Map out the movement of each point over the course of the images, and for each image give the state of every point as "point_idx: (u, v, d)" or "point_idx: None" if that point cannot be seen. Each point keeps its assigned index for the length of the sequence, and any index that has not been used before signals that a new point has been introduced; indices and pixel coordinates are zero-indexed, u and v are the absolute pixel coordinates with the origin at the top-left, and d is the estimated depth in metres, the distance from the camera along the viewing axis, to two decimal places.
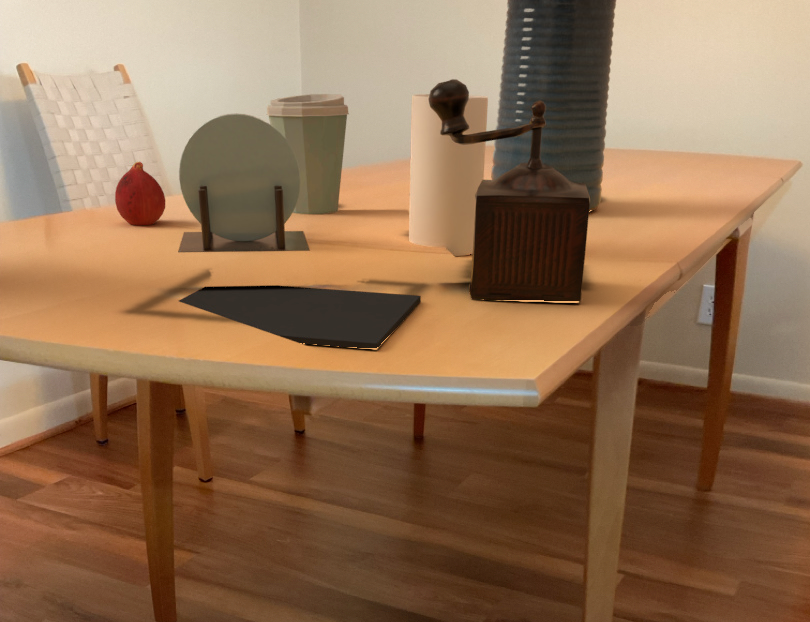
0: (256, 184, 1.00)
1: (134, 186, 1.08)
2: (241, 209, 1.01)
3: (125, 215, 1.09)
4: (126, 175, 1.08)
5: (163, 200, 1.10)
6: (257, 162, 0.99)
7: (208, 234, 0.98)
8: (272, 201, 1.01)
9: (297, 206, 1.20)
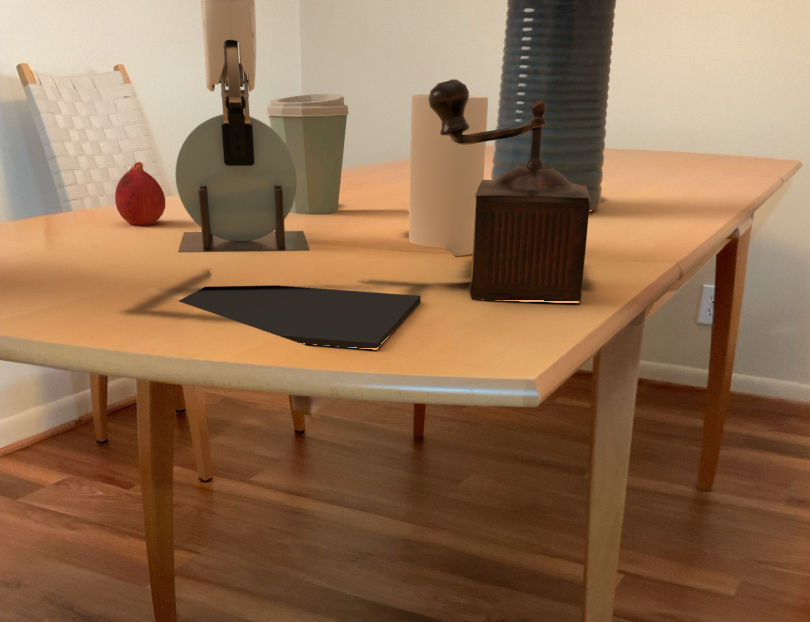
0: (253, 183, 1.00)
1: (134, 186, 1.08)
2: (239, 209, 1.01)
3: (125, 215, 1.09)
4: (126, 175, 1.08)
5: (163, 200, 1.10)
6: None
7: (208, 234, 0.98)
8: (270, 199, 1.01)
9: (297, 206, 1.20)
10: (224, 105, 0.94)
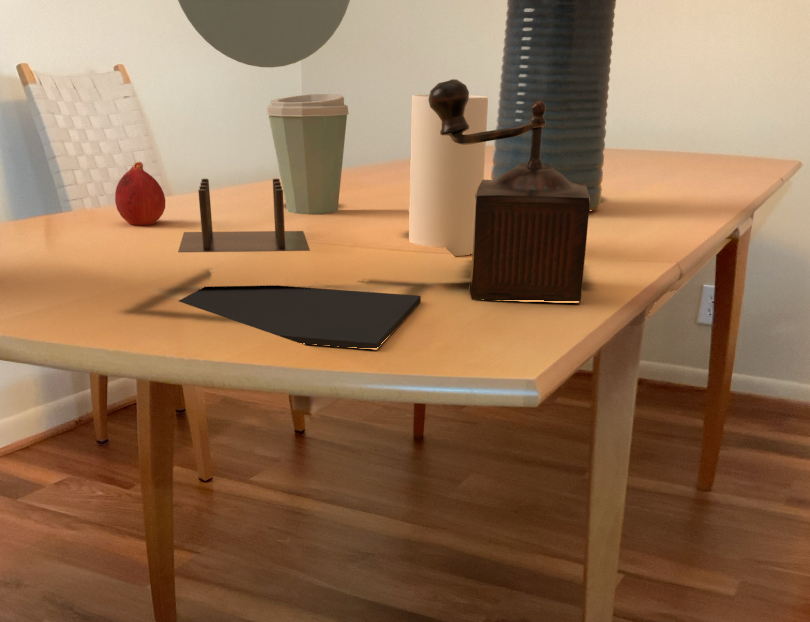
0: None
1: (134, 186, 1.08)
2: (266, 13, 0.66)
3: (125, 215, 1.09)
4: (126, 175, 1.08)
5: (163, 200, 1.10)
6: None
7: (208, 234, 0.98)
8: None
9: (297, 206, 1.20)
10: None
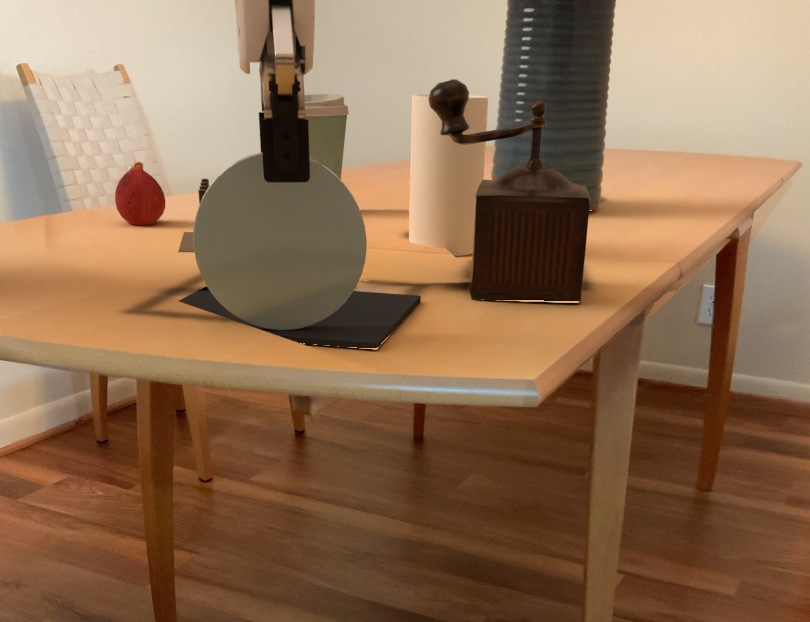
0: (304, 250, 0.69)
1: (134, 186, 1.08)
2: (284, 286, 0.70)
3: (125, 215, 1.09)
4: (126, 175, 1.08)
5: (163, 200, 1.10)
6: (304, 219, 0.68)
7: None
8: (328, 271, 0.70)
9: None
10: (266, 85, 0.60)
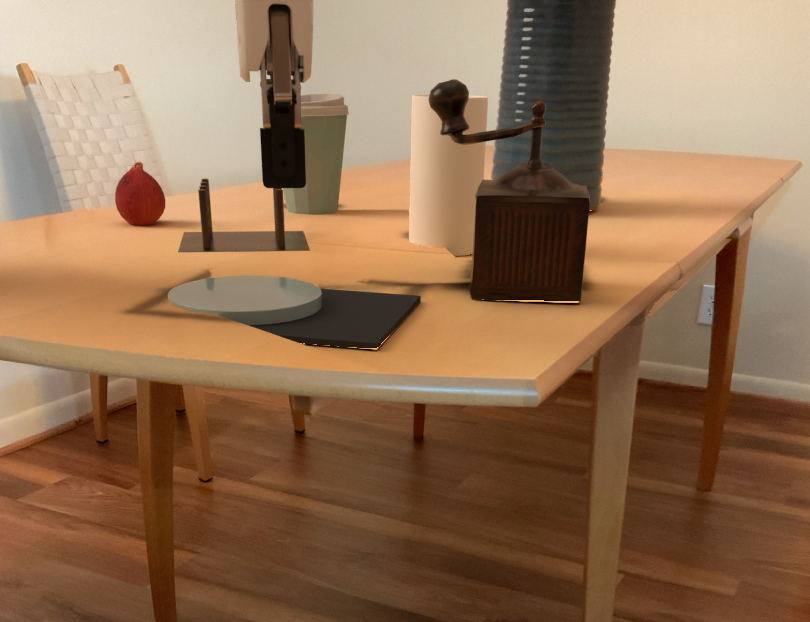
0: (265, 290, 0.79)
1: (134, 186, 1.08)
2: (263, 299, 0.76)
3: (125, 215, 1.09)
4: (126, 175, 1.08)
5: (163, 200, 1.10)
6: (254, 285, 0.80)
7: (208, 234, 0.98)
8: (292, 291, 0.78)
9: (297, 206, 1.20)
10: (265, 102, 0.64)
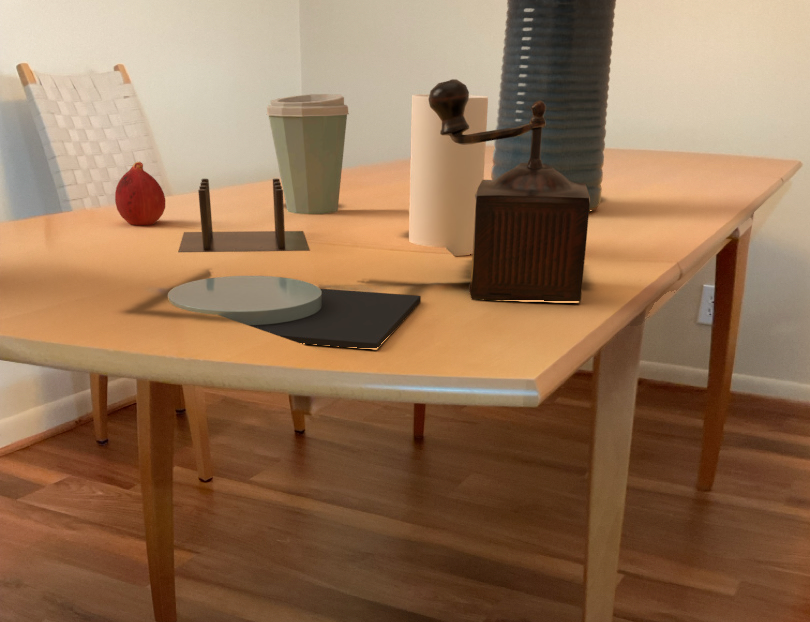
0: (265, 290, 0.79)
1: (134, 186, 1.08)
2: (263, 299, 0.76)
3: (125, 215, 1.09)
4: (126, 175, 1.08)
5: (163, 200, 1.10)
6: (254, 285, 0.80)
7: (208, 234, 0.98)
8: (292, 291, 0.79)
9: (297, 206, 1.20)
10: None
